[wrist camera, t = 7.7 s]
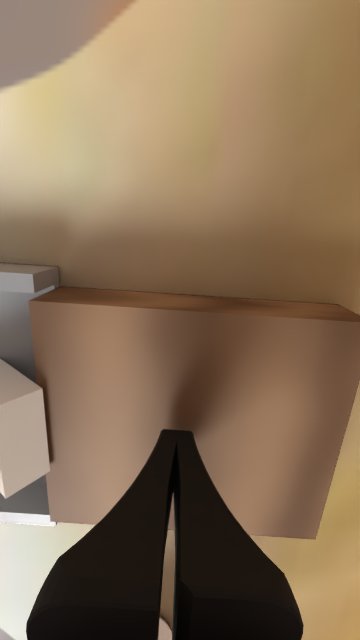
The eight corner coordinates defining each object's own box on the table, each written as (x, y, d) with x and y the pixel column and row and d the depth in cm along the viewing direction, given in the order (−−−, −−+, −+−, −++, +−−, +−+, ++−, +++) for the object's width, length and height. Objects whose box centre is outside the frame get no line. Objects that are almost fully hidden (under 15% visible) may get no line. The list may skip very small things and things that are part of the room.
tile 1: (42, 388, 13) (-9, 408, 11) (50, 471, 14) (5, 498, 12) (-2, 356, 15) (-49, 369, 14) (8, 429, 17) (-33, 448, 15)
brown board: (338, 304, 15) (375, 323, 12) (295, 490, 18) (315, 539, 15) (59, 286, 15) (28, 300, 12) (71, 475, 18) (50, 521, 15)
